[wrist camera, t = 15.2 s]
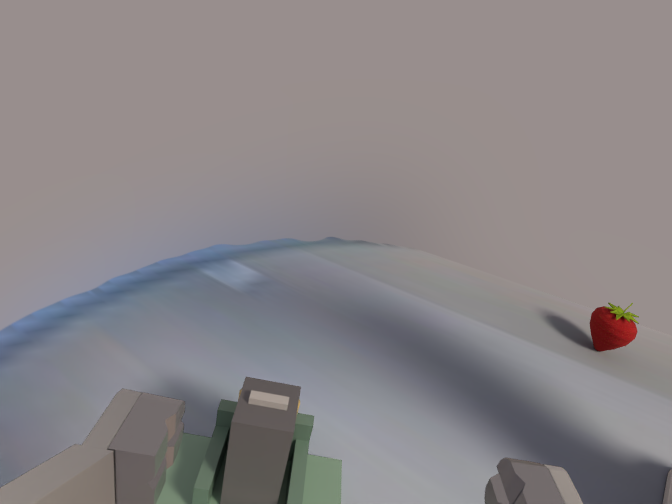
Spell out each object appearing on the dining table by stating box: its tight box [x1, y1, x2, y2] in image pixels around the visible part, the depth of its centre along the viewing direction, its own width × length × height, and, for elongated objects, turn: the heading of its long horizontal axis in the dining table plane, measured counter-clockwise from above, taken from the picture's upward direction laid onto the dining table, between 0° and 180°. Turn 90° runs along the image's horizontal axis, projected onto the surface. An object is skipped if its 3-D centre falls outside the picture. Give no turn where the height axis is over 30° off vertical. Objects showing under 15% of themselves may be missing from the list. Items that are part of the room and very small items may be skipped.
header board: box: [156, 389, 342, 504], centre depth 34 cm, size 12×16×8 cm
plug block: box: [220, 377, 301, 504], centre depth 35 cm, size 5×5×11 cm
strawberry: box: [590, 303, 639, 351], centre depth 70 cm, size 6×8×10 cm
